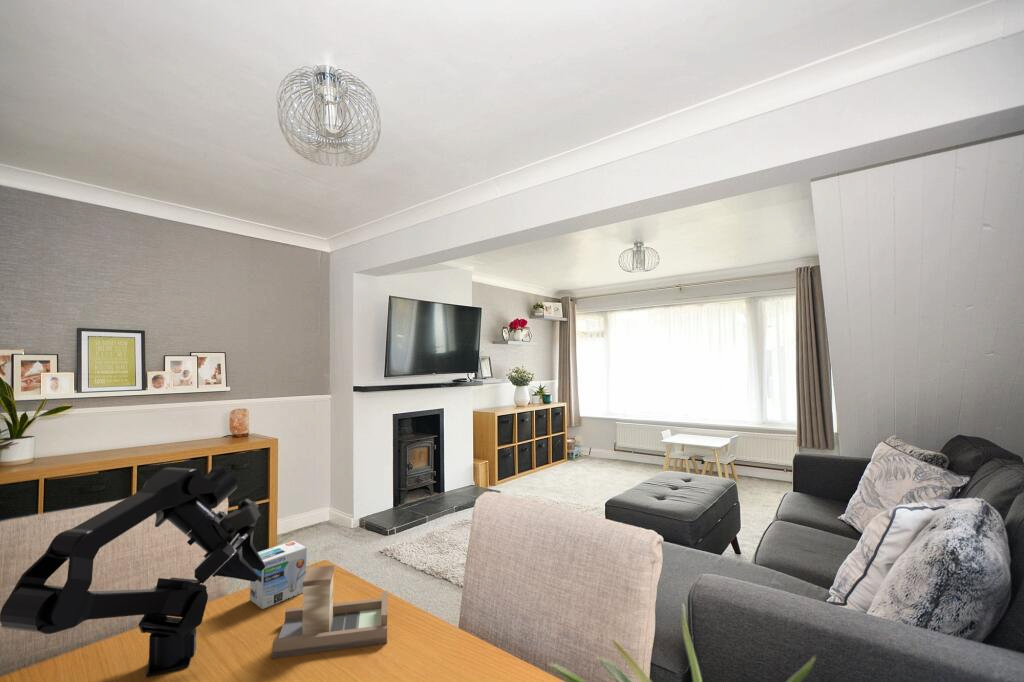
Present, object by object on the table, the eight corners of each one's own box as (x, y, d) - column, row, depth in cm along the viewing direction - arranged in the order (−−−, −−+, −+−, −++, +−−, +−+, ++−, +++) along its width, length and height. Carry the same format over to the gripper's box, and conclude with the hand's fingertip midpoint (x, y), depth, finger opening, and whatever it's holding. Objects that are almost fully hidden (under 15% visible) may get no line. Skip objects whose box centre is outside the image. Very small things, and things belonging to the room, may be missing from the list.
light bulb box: (262, 610, 106) (263, 562, 106) (248, 600, 110) (249, 553, 110) (307, 591, 115) (308, 546, 115) (293, 582, 119) (293, 539, 119)
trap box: (272, 658, 90) (273, 632, 90) (286, 623, 101) (286, 599, 101) (386, 643, 95) (387, 617, 95) (387, 610, 106) (387, 588, 107)
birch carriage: (301, 637, 94) (302, 581, 94) (306, 620, 100) (308, 567, 100) (329, 634, 95) (330, 578, 95) (333, 617, 101) (334, 565, 101)
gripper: (216, 506, 85) (281, 562, 87) (247, 479, 103) (300, 526, 105) (164, 555, 83) (233, 611, 85) (205, 518, 101) (260, 565, 103)
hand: (260, 574), depth 95 cm, fingers open, 4 cm apart
